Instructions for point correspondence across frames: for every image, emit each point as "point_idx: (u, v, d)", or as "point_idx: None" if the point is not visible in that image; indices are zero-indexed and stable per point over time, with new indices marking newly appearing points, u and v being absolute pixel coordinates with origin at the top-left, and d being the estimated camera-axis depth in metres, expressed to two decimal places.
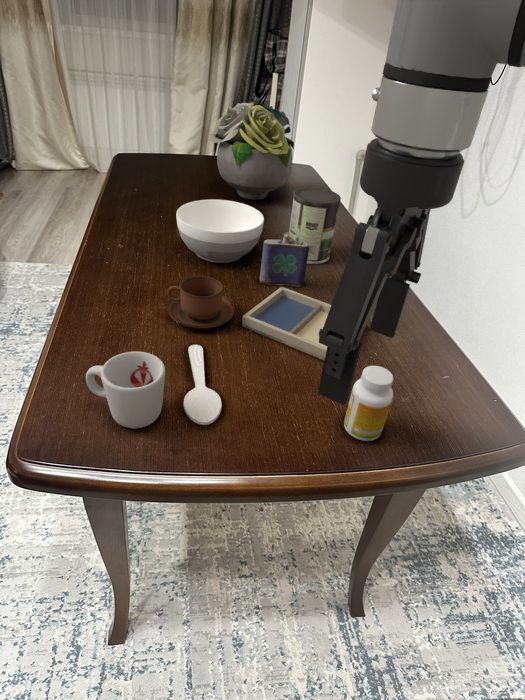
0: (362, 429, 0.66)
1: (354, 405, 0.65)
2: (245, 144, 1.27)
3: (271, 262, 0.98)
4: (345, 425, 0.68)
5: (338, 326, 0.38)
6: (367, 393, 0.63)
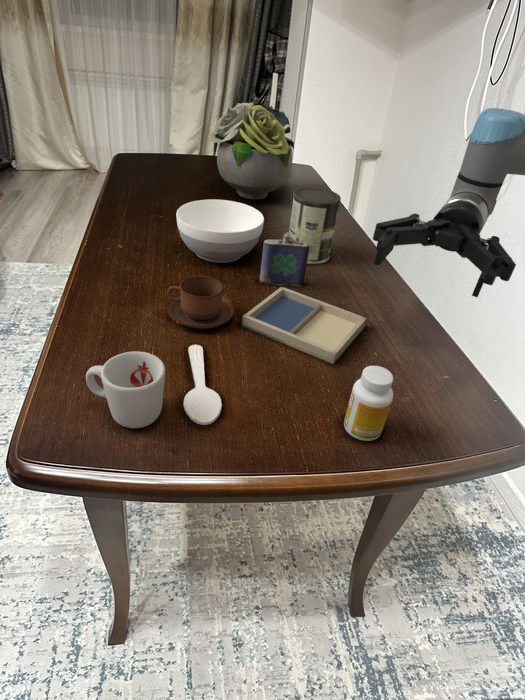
0: (362, 429, 0.66)
1: (354, 405, 0.65)
2: (245, 144, 1.27)
3: (271, 262, 0.98)
4: (345, 425, 0.68)
5: None
6: (367, 393, 0.63)
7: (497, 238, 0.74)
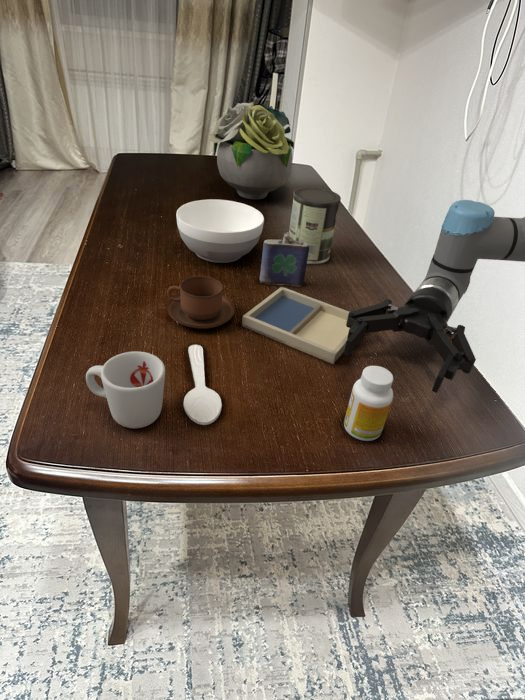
0: (362, 429, 0.66)
1: (354, 405, 0.65)
2: (245, 144, 1.27)
3: (271, 262, 0.98)
4: (345, 425, 0.68)
5: None
6: (367, 393, 0.63)
7: (463, 327, 0.79)
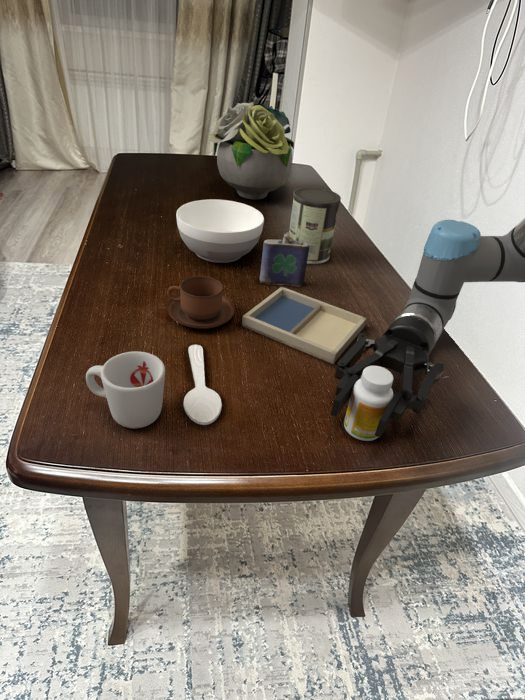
0: (362, 429, 0.66)
1: (354, 405, 0.65)
2: (245, 144, 1.27)
3: (271, 262, 0.98)
4: (345, 425, 0.68)
5: None
6: (367, 393, 0.63)
7: (441, 367, 0.70)
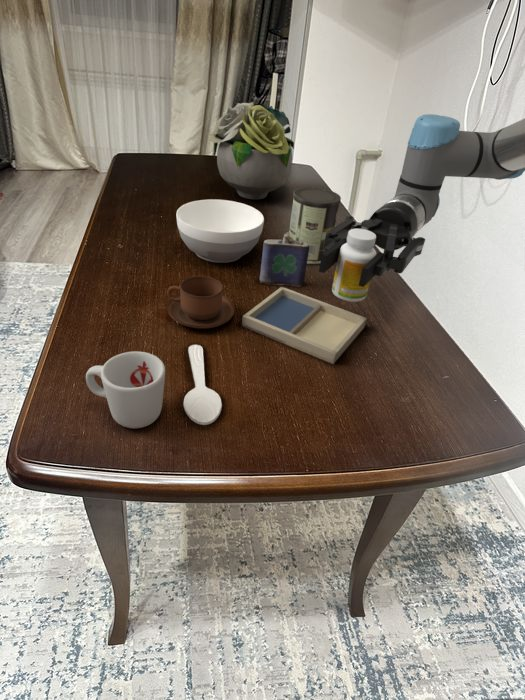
0: (348, 288, 0.71)
1: (340, 265, 0.71)
2: (245, 144, 1.27)
3: (271, 262, 0.98)
4: (333, 289, 0.74)
5: None
6: (352, 251, 0.69)
7: (422, 239, 0.76)
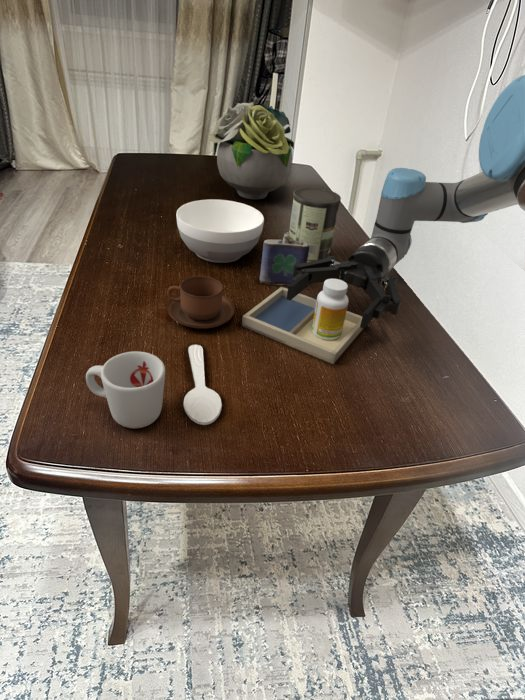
0: (324, 329, 0.84)
1: (317, 310, 0.83)
2: (245, 144, 1.27)
3: (271, 262, 0.98)
4: (312, 329, 0.86)
5: None
6: (327, 298, 0.81)
7: (395, 278, 0.89)
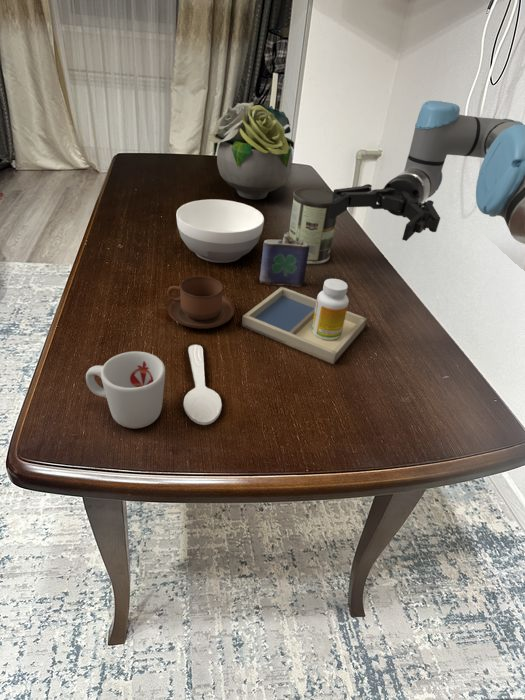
0: (324, 329, 0.84)
1: (317, 310, 0.83)
2: (245, 144, 1.27)
3: (271, 262, 0.98)
4: (312, 329, 0.86)
5: None
6: (327, 298, 0.81)
7: (431, 202, 0.92)
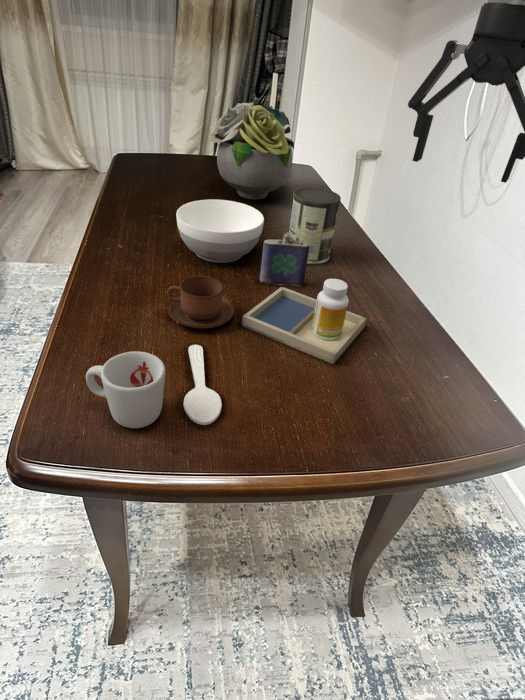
0: (324, 329, 0.84)
1: (317, 310, 0.83)
2: (245, 144, 1.27)
3: (271, 262, 0.98)
4: (312, 329, 0.86)
5: None
6: (327, 298, 0.81)
7: None
